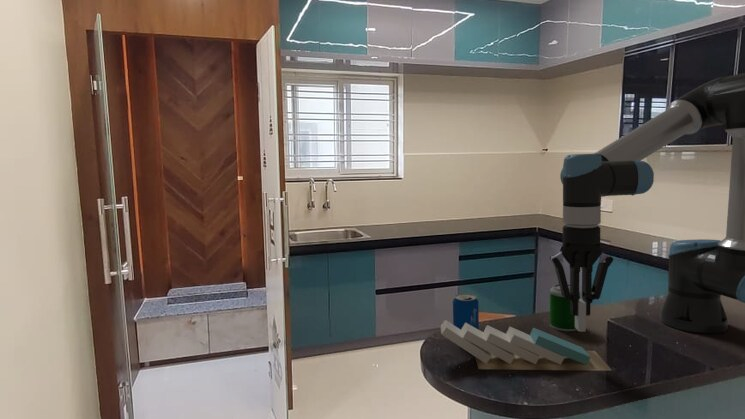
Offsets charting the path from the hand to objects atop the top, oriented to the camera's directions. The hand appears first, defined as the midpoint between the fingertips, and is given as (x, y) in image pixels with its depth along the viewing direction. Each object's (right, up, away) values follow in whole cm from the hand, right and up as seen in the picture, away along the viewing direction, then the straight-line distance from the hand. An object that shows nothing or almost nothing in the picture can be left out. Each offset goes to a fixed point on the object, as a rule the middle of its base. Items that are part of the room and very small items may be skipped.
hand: (580, 329), depth 101 cm
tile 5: (-20, -7, +3) cm, 21 cm away
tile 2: (-4, -6, +1) cm, 8 cm away
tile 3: (-9, -7, +2) cm, 12 cm away
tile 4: (-15, -7, +2) cm, 16 cm away
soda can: (+6, -6, +21) cm, 23 cm away
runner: (-9, -9, +2) cm, 12 cm away
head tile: (+1, -6, +1) cm, 6 cm away
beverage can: (-22, -8, +16) cm, 29 cm away
